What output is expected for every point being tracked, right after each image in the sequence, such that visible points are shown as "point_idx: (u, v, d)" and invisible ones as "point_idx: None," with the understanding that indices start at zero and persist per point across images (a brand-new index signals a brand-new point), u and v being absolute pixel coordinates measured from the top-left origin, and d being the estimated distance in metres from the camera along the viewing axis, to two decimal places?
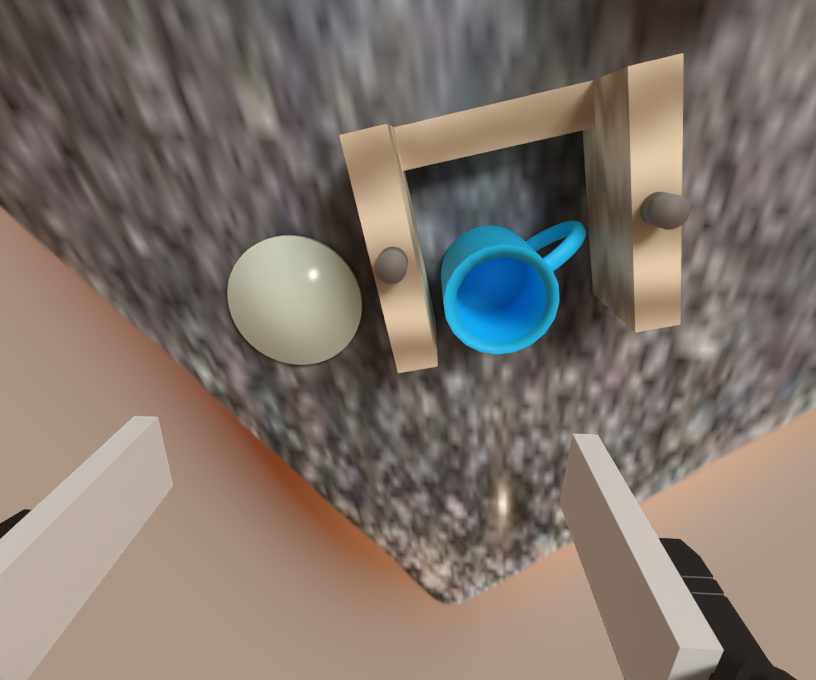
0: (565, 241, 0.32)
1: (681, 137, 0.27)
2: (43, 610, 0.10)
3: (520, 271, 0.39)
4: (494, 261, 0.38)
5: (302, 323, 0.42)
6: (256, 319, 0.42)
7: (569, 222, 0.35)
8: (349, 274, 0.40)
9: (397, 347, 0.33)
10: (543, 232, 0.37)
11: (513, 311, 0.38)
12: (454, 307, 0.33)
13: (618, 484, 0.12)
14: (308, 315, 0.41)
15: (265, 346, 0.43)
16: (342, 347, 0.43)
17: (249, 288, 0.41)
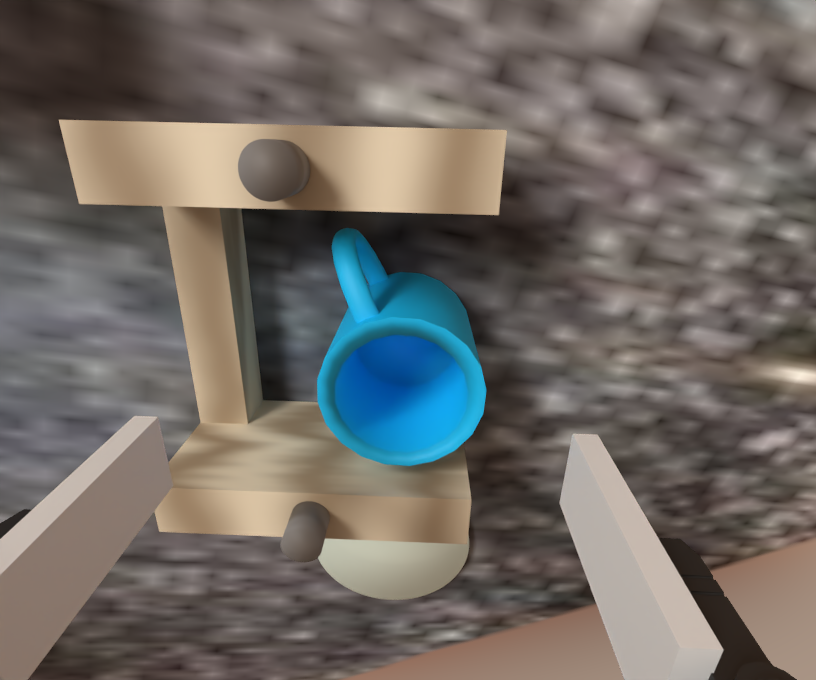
0: (340, 282, 0.22)
1: (178, 122, 0.17)
2: (43, 610, 0.10)
3: None
4: None
5: (415, 544, 0.35)
6: (399, 581, 0.37)
7: None
8: None
9: (429, 536, 0.24)
10: None
11: None
12: (395, 453, 0.23)
13: (618, 484, 0.12)
14: None
15: (433, 583, 0.37)
16: None
17: (363, 576, 0.37)
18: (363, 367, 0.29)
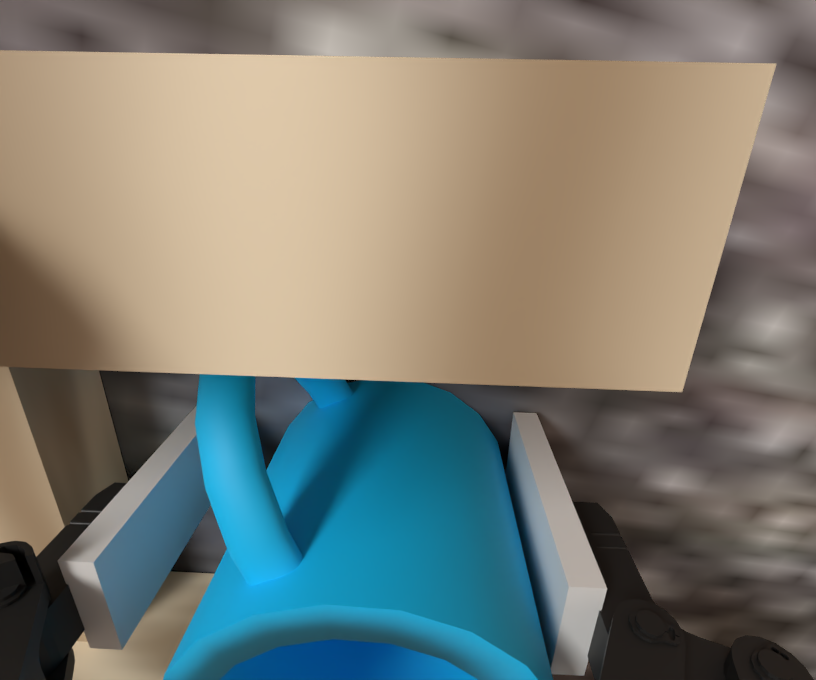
0: None
1: None
2: (144, 571, 0.11)
3: None
4: None
5: None
6: None
7: None
8: None
9: None
10: None
11: None
12: None
13: (545, 455, 0.13)
14: None
15: None
16: None
17: None
18: None
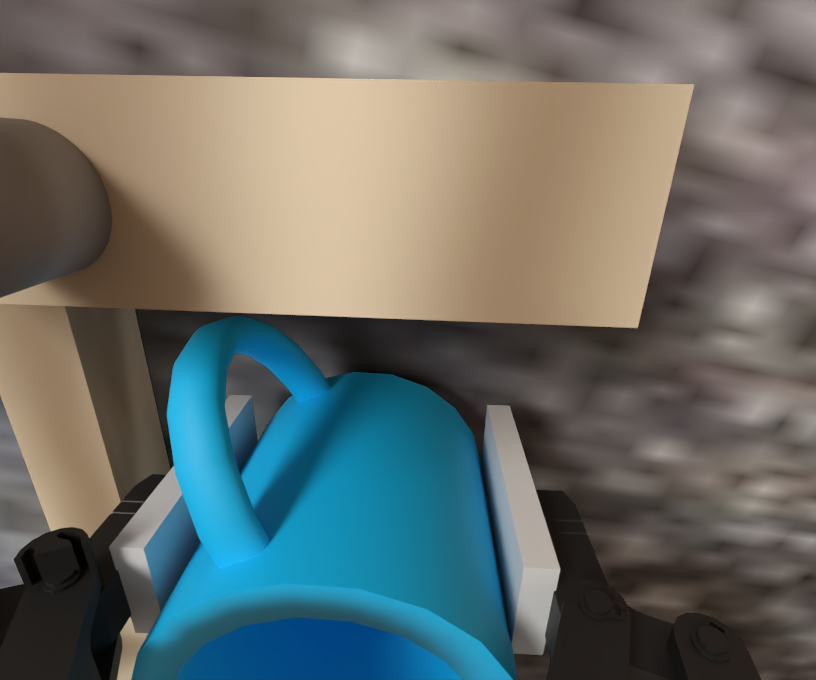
0: (176, 470, 0.09)
1: None
2: (185, 559, 0.12)
3: None
4: None
5: None
6: None
7: None
8: None
9: None
10: (269, 369, 0.14)
11: None
12: None
13: (514, 445, 0.13)
14: None
15: None
16: None
17: None
18: None
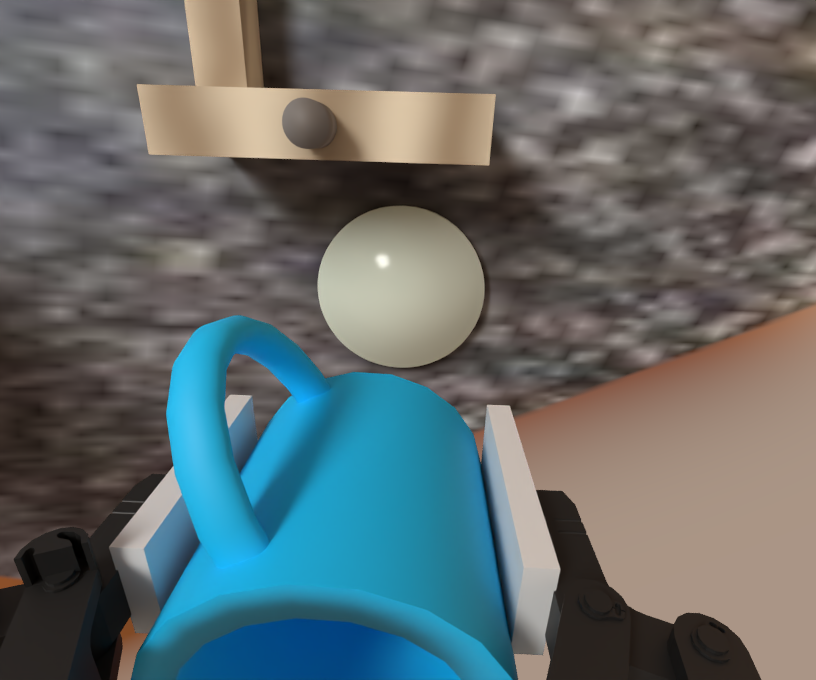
0: (175, 471, 0.09)
1: None
2: (185, 559, 0.12)
3: None
4: None
5: (427, 291, 0.33)
6: (408, 342, 0.35)
7: None
8: (377, 212, 0.31)
9: (447, 154, 0.22)
10: (269, 369, 0.14)
11: None
12: None
13: (514, 445, 0.13)
14: (418, 280, 0.33)
15: (444, 344, 0.35)
16: (472, 251, 0.32)
17: (370, 335, 0.35)
18: None
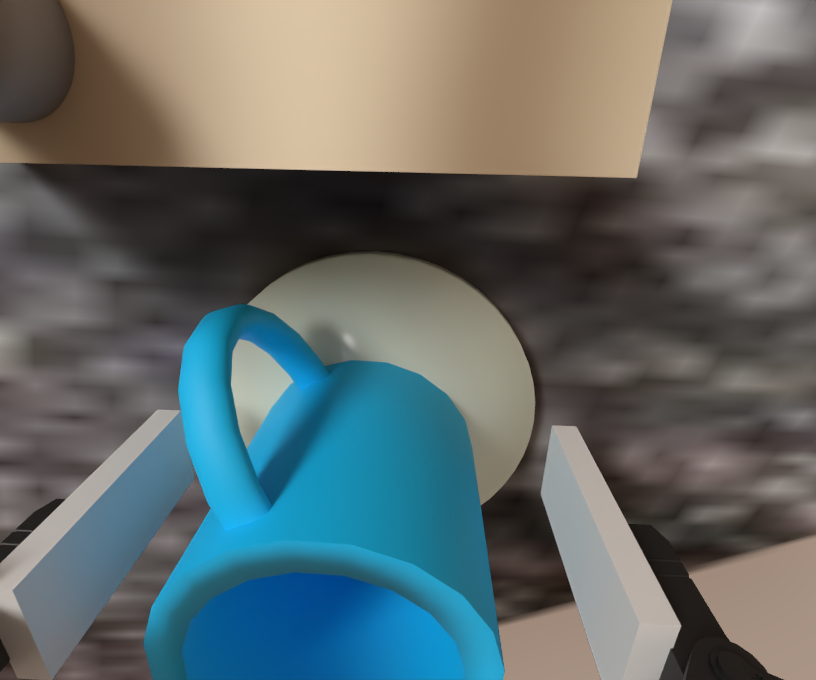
0: None
1: None
2: (79, 595, 0.11)
3: None
4: None
5: None
6: None
7: None
8: (320, 269, 0.15)
9: (487, 139, 0.06)
10: (272, 356, 0.15)
11: None
12: None
13: (592, 473, 0.12)
14: None
15: None
16: (513, 342, 0.16)
17: None
18: None
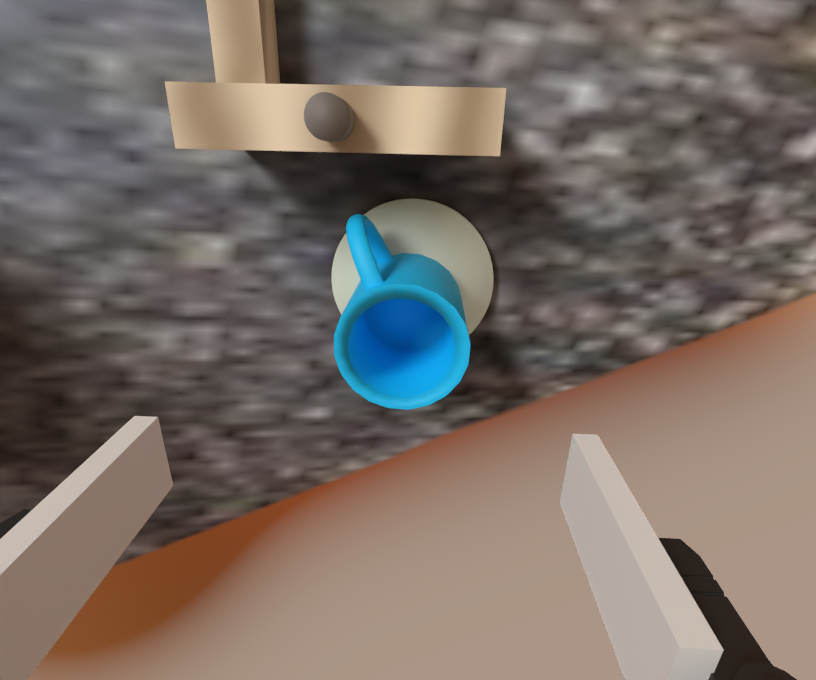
0: (352, 257, 0.27)
1: None
2: (43, 610, 0.10)
3: None
4: (390, 303, 0.33)
5: None
6: None
7: None
8: (390, 205, 0.32)
9: (460, 145, 0.23)
10: None
11: None
12: (396, 398, 0.29)
13: (618, 484, 0.12)
14: None
15: None
16: (481, 243, 0.33)
17: None
18: (371, 334, 0.34)
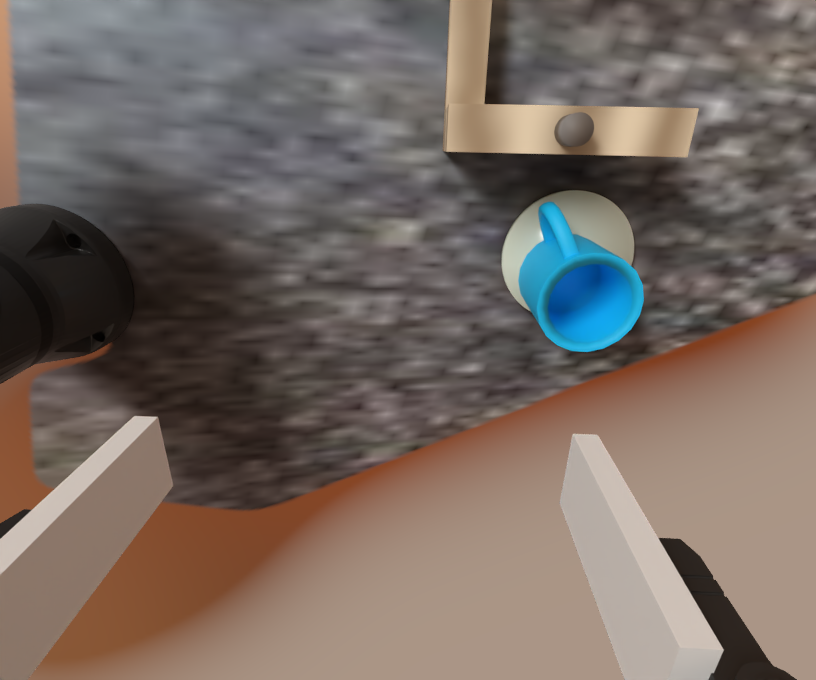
0: (555, 233, 0.35)
1: None
2: (43, 610, 0.10)
3: None
4: None
5: None
6: None
7: (540, 211, 0.38)
8: (558, 195, 0.41)
9: (658, 149, 0.32)
10: (541, 227, 0.40)
11: (606, 270, 0.40)
12: (579, 343, 0.37)
13: (618, 484, 0.12)
14: None
15: None
16: (627, 225, 0.41)
17: None
18: None
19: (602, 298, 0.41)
